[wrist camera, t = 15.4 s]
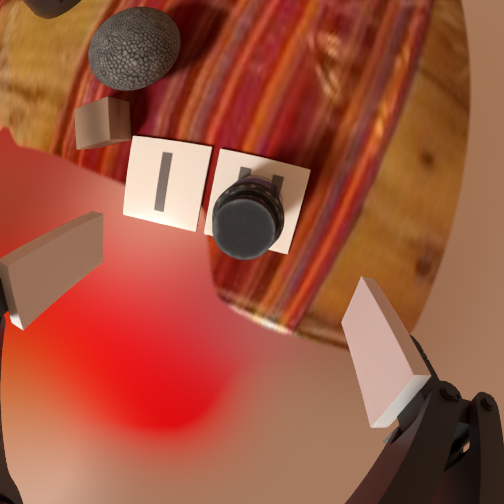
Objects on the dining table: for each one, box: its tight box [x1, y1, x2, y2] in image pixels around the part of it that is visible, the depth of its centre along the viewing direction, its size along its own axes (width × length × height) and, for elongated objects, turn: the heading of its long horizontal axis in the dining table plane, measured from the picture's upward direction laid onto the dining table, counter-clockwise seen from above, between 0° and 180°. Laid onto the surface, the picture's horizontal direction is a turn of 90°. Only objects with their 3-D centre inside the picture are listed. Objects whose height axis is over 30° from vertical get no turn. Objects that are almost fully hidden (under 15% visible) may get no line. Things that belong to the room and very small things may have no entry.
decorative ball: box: [89, 7, 181, 90], centre depth 21 cm, size 10×10×10 cm
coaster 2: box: [204, 149, 311, 254], centre depth 30 cm, size 10×10×1 cm
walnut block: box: [75, 97, 132, 150], centre depth 26 cm, size 5×5×5 cm
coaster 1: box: [123, 136, 213, 232], centre depth 30 cm, size 10×10×1 cm
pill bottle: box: [212, 175, 285, 260], centre depth 25 cm, size 6×6×11 cm
